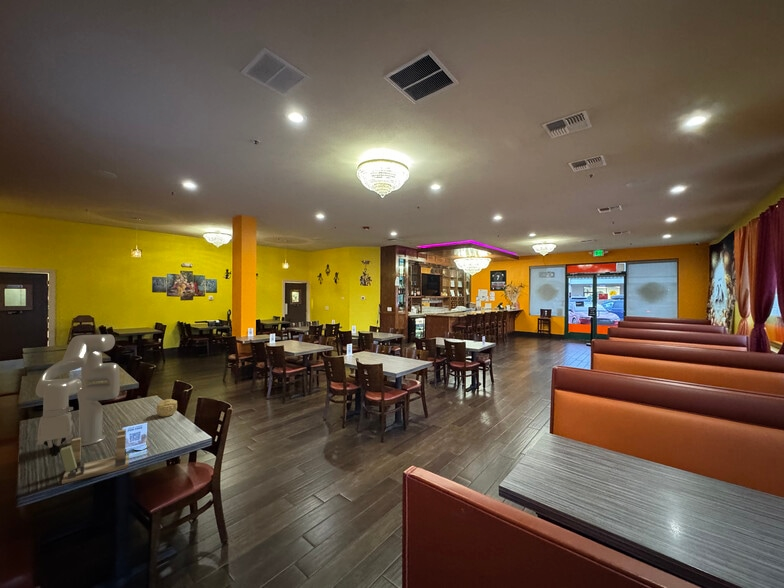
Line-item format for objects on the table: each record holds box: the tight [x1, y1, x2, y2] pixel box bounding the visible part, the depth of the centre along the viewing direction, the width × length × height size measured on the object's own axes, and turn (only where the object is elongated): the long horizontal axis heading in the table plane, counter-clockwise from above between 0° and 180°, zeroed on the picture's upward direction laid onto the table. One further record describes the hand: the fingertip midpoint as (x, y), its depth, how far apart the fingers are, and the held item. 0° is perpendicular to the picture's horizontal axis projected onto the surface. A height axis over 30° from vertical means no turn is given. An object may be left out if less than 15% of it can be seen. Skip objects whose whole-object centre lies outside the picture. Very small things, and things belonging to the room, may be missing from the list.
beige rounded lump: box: [156, 398, 178, 418], centre depth 218 cm, size 11×12×11 cm
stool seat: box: [61, 428, 130, 485], centre depth 149 cm, size 14×22×14 cm, turn 129°
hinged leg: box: [60, 444, 77, 473], centre depth 140 cm, size 4×3×13 cm
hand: (54, 455), depth 138 cm, fingers closed
